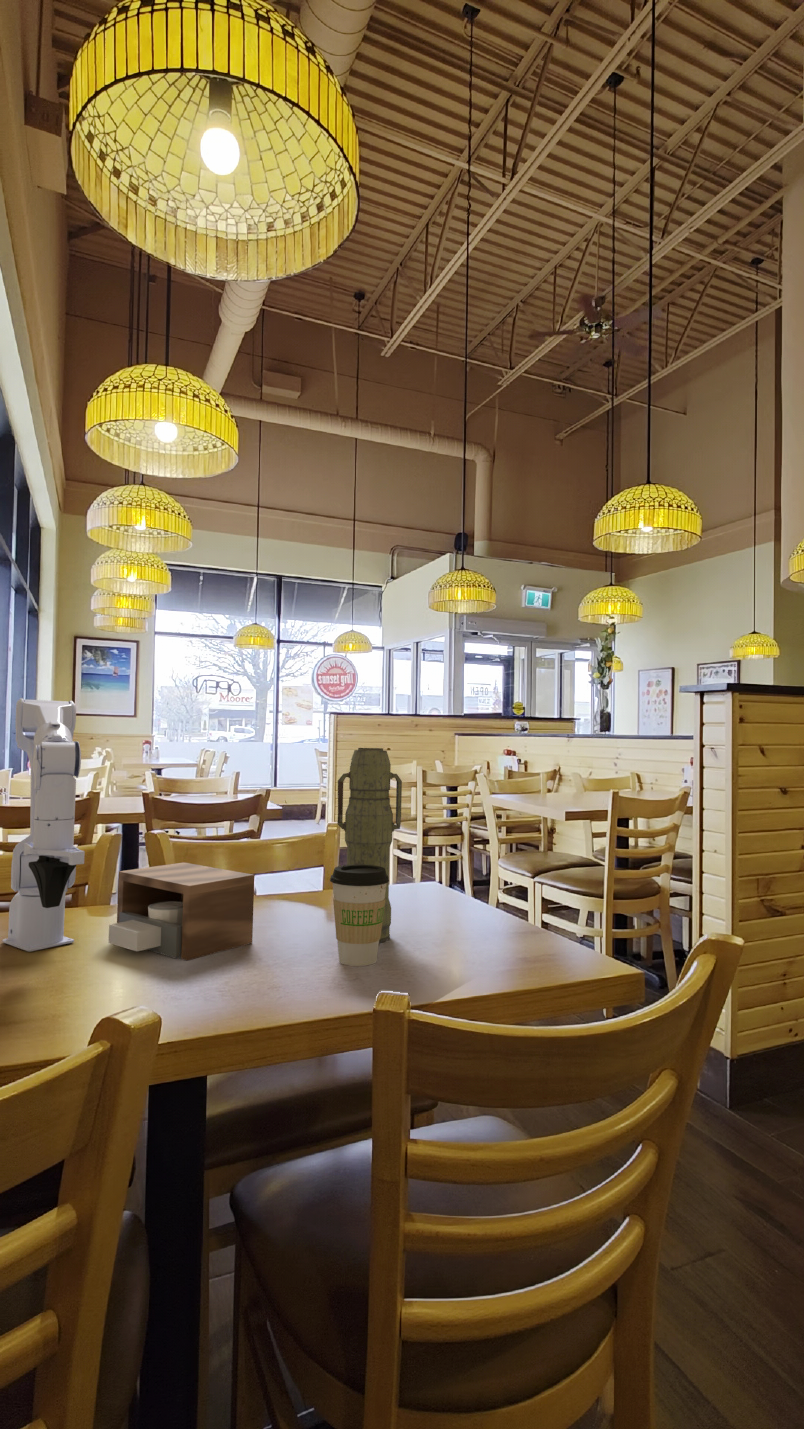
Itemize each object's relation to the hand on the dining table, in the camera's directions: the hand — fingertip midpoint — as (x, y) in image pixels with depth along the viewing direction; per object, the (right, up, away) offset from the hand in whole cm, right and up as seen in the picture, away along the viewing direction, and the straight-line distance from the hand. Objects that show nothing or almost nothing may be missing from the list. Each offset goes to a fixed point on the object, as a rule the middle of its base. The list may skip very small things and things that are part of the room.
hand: (50, 906), depth 113 cm
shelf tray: (+14, -10, +14) cm, 22 cm away
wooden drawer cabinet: (+16, -11, +16) cm, 25 cm away
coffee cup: (+47, -11, +7) cm, 49 cm away
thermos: (+48, -12, +21) cm, 54 cm away
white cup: (+14, -11, +13) cm, 22 cm away
